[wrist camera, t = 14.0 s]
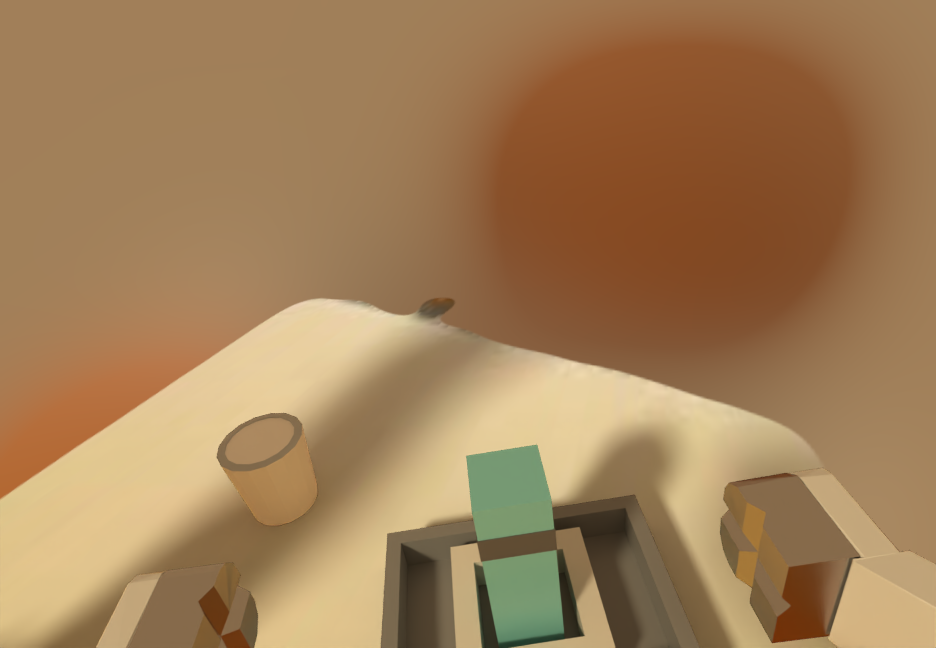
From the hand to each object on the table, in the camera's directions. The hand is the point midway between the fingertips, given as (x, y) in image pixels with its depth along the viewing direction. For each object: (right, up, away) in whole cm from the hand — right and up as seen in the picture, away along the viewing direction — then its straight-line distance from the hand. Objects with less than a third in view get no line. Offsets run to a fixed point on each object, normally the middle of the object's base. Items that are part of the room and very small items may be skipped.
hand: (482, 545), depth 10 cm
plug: (+4, -15, +27) cm, 32 cm away
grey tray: (+4, -16, +28) cm, 32 cm away
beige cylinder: (-16, -12, +40) cm, 45 cm away
